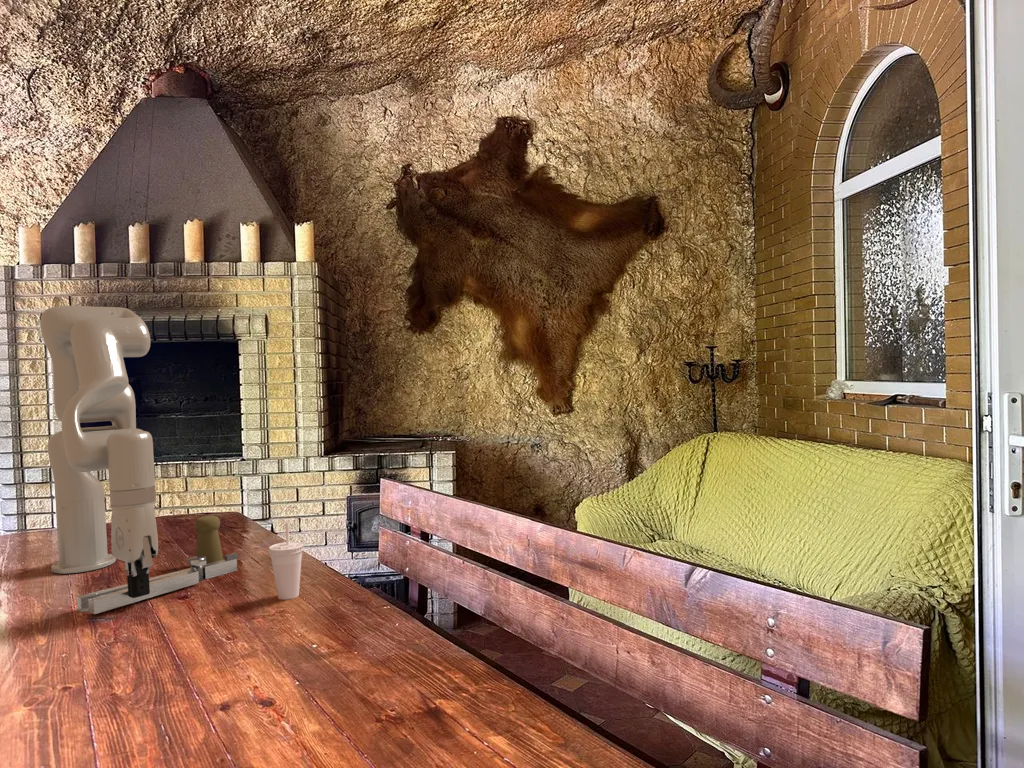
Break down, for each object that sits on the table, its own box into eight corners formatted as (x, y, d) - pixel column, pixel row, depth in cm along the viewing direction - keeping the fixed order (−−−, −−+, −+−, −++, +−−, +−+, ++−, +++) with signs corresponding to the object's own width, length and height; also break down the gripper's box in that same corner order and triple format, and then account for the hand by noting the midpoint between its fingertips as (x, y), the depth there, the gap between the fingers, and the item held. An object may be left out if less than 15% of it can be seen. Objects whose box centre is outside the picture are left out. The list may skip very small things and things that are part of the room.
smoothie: (313, 592, 133) (309, 519, 133) (292, 603, 127) (288, 527, 127) (285, 589, 135) (281, 518, 135) (263, 600, 129) (259, 526, 129)
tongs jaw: (79, 609, 127) (78, 587, 127) (200, 574, 147) (199, 554, 147) (94, 614, 124) (93, 591, 124) (216, 577, 144) (215, 558, 143)
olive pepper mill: (213, 569, 152) (210, 519, 151) (188, 568, 153) (186, 519, 153) (229, 561, 158) (227, 513, 157) (206, 560, 159) (203, 513, 159)
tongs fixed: (77, 610, 128) (76, 590, 128) (234, 568, 152) (233, 552, 152) (82, 612, 127) (80, 593, 126) (239, 570, 150) (239, 553, 150)
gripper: (96, 498, 131) (101, 594, 131) (128, 504, 121) (134, 608, 121) (137, 491, 136) (143, 584, 137) (171, 497, 127) (177, 596, 127)
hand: (139, 595), depth 129 cm, fingers closed
